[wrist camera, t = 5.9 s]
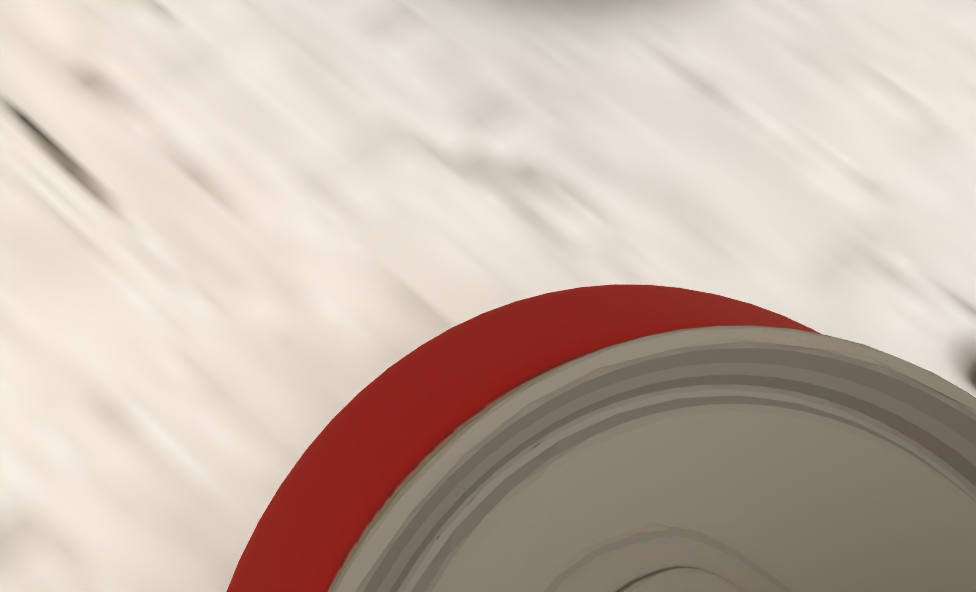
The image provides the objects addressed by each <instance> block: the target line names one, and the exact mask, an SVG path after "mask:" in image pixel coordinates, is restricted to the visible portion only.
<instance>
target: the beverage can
mask: <svg viewBox="0 0 976 592" xmlns="http://www.w3.org/2000/svg"><path fill="white" fill-rule="evenodd" d="M227 592H976V398H975V397H973V396H972V395H970V394H969V393H967V392H966V391H964V390H962V389H960V388H959V387H957V386H955V385H953V384H952V383H950V382H948V381H947V380H945V379H943V378H941V377H940V376H938V375H936V374H934V373H932V372H930V371H928V370H925V369H923V368H921V367H918V366H916V365H914V364H912V363H909V362H907V361H905V360H902V359H900V358H897V357H895V356H892V355H890V354H887V353H884V352H882V351H879V350H877V349H874V348H871V347H869V346H866V345H863V344H859V343H855V342H851V341H847V340H843V339H839V338H835V337H832V336H828V335H822V334H820V333H818V332H816V331H815V330H813V329H811V328H809V327H806V326H804V325H802V324H800V323H798V322H796V321H793V320H791V319H789V318H787V317H785V316H782V315H780V314H777V313H774V312H772V311H769V310H766V309H763V308H761V307H758V306H755V305H752V304H749V303H745V302H742V301H738V300H734V299H731V298H727V297H723V296H720V295H715V294H710V293H705V292H699V291H694V290H688V289H683V288H675V287H665V286H654V285H603V286H591V287H580V288H575V289H569V290H563V291H557V292H551V293H547V294H543V295H539V296H535V297H531V298H528V299H524V300H520V301H516V302H513V303H511V304H508V305H505V306H502V307H500V308H497V309H494V310H491V311H488V312H486V313H483V314H481V315H479V316H477V317H474V318H472V319H470V320H468V321H466V322H464V323H462V324H459V325H457V326H455V327H453V328H451V329H449V330H447V331H446V332H444V333H442V334H440V335H439V336H437V337H435V338H434V339H432V340H430V341H428V342H427V343H425V344H423V345H421V346H420V347H418V348H417V349H415V350H414V351H413V352H411V353H410V354H408V355H407V356H405V357H404V358H402V359H401V360H400V361H398V362H397V363H395V364H394V365H392V366H391V367H390V368H388V369H387V370H386V371H385V372H384V373H382V374H381V375H380V376H379V377H378V378H376V379H375V380H374V381H373V382H372V383H370V384H369V385H368V386H367V387H366V388H364V389H363V390H362V391H361V392H360V393H359V394H358V395H357V396H356V397H355V398H354V399H353V400H352V401H351V402H350V403H349V404H348V405H347V406H346V407H344V408H343V409H342V410H341V411H340V412H339V413H338V414H337V415H336V416H335V417H334V418H333V419H332V420H331V422H330V423H329V424H328V425H327V426H326V427H325V429H324V430H323V431H322V432H321V433H320V434H319V436H318V437H317V438H316V439H315V440H314V442H313V443H312V444H311V445H310V446H309V447H308V449H307V450H306V451H305V452H304V454H303V455H302V456H301V458H300V459H299V461H298V462H297V463H296V465H295V466H294V468H293V469H292V470H291V472H290V473H289V474H288V476H287V477H286V479H285V480H284V481H283V483H282V484H281V486H280V487H279V489H278V491H277V492H276V494H275V496H274V497H273V499H272V501H271V502H270V504H269V506H268V507H267V509H266V510H265V512H264V514H263V515H262V517H261V519H260V520H259V522H258V524H257V526H256V528H255V530H254V532H253V534H252V536H251V538H250V540H249V542H248V544H247V546H246V548H245V550H244V552H243V554H242V556H241V558H240V560H239V563H238V565H237V567H236V570H235V572H234V575H233V577H232V580H231V582H230V585H229V587H228V590H227Z"/></svg>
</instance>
